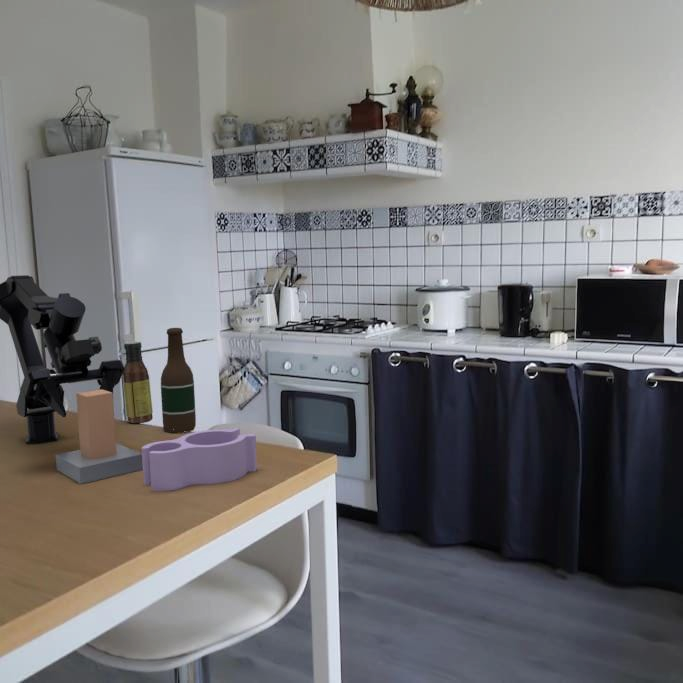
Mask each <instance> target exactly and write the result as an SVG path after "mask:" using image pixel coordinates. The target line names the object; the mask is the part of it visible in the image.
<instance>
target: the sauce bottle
mask: <svg viewBox="0 0 683 683" xmlns="http://www.w3.org/2000/svg"><path fill="white" fill-rule="evenodd" d="M142 348H143V347H142V342H141V341H130V342H124V343H123V349H124V350H125V364H124V367H125V370H124V372H123V374H122V377H123V378H122V380H123V391H124V403H125V412H126V417H127V421H128V423H129V422H130V424H136V423H137V424H145V423H148V422H151V421H152V420H153V411H154V410H153V402H152V393H151V384H150V383H151V382H150V375H149V370H148V369H147V366H146V365H145V363H144V360H143V356H142Z"/></svg>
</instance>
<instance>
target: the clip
mask: <svg viewBox="0 0 683 683" xmlns="http://www.w3.org/2000/svg"><path fill="white" fill-rule="evenodd" d="M240 431H241V429H240V428H239V427H233V428H231V429H208V430H207V429H206V430H205V429H204V430H200V431H199V430H198V431H194V432H193V431H192V432H190V433H189V432H188V433H187V434H184V435H182V436H180V437H177V438H175V439H170V440H161V441H155V442H151V443H148V444H145V445H143V446H141V454H142V464H143V469H142V475H143V477H142V479H143V486H150V487H151V489H150V490H151V491H153V492H167V491H174V490H175V491H176V490H180V489H183V488H186V487H189V486H193V485H214V484H223V483H228V482H229V483H230V482H232V481H235V480H238V479H240V478H243V477H244V476H245V475H247V473H249V472H257V471H258V462H257V461H258V459H257V439H256V438H257V436H256V434H255V433H253V434H252V433H249V434H241V432H240ZM256 470H257V471H256ZM248 471H249V472H248ZM242 476H243V477H242Z"/></svg>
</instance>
